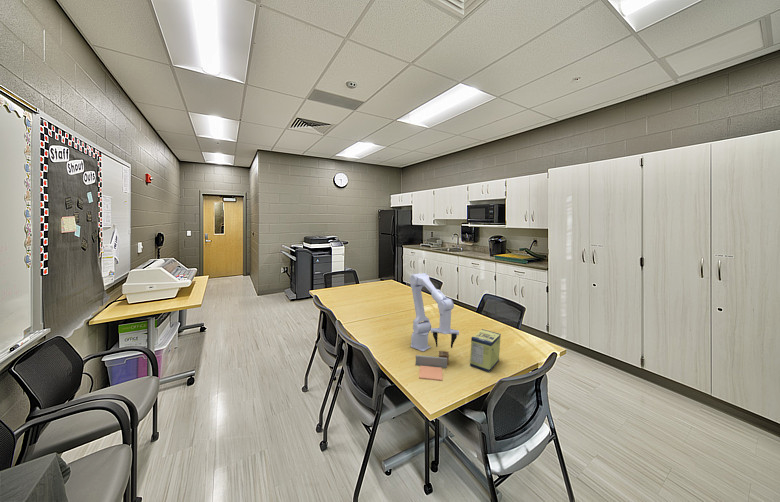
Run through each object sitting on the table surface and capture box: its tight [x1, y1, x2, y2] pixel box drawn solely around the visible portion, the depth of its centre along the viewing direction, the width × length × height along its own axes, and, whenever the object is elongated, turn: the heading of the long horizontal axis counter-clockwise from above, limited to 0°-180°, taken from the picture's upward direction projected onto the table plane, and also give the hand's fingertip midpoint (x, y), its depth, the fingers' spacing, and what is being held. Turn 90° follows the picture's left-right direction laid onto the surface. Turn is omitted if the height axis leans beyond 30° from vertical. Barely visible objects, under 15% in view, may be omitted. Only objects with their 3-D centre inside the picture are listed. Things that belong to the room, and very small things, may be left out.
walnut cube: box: [438, 350, 450, 366], centre depth 150 cm, size 5×5×5 cm
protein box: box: [469, 328, 502, 373], centre depth 149 cm, size 10×16×16 cm
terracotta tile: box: [418, 366, 443, 382], centre depth 139 cm, size 11×11×1 cm
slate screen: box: [415, 354, 448, 369], centre depth 146 cm, size 16×1×5 cm, turn 81°
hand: (444, 346), depth 149 cm, fingers open, 7 cm apart
